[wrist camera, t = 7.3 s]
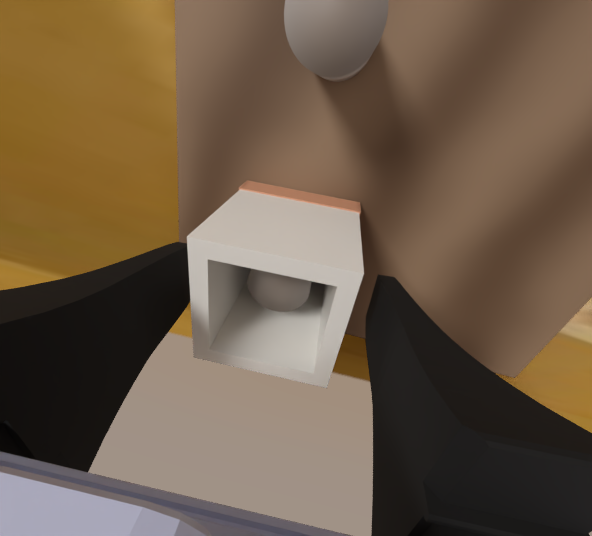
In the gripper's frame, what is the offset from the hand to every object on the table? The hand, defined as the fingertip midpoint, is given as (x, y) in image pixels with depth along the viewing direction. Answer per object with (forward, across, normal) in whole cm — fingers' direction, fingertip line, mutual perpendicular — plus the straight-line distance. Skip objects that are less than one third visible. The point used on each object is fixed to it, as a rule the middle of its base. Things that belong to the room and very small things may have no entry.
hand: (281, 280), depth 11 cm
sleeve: (+4, 0, 0) cm, 4 cm away
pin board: (+5, -4, -2) cm, 7 cm away
